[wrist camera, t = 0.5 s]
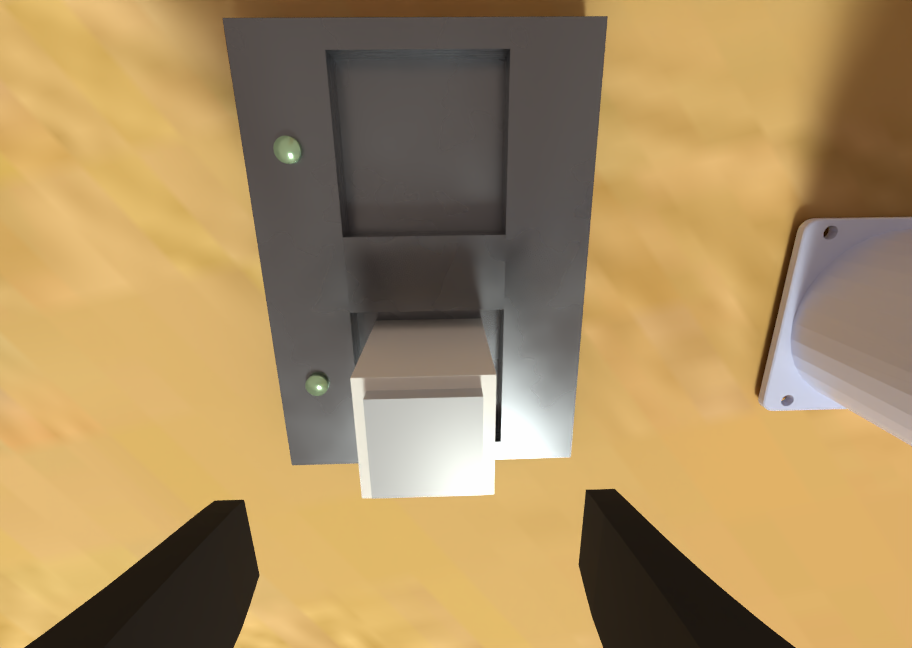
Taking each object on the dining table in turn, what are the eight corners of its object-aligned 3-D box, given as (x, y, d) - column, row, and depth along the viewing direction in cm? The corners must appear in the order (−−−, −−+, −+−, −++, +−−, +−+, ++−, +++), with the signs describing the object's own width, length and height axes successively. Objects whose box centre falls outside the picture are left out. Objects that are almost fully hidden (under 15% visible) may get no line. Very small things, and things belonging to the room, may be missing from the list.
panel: (586, 36, 15) (610, 14, 13) (558, 429, 20) (572, 460, 17) (251, 38, 14) (219, 15, 12) (306, 436, 19) (290, 468, 17)
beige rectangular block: (481, 318, 17) (498, 382, 12) (480, 410, 18) (495, 505, 13) (376, 320, 17) (346, 386, 12) (383, 413, 18) (359, 510, 13)
